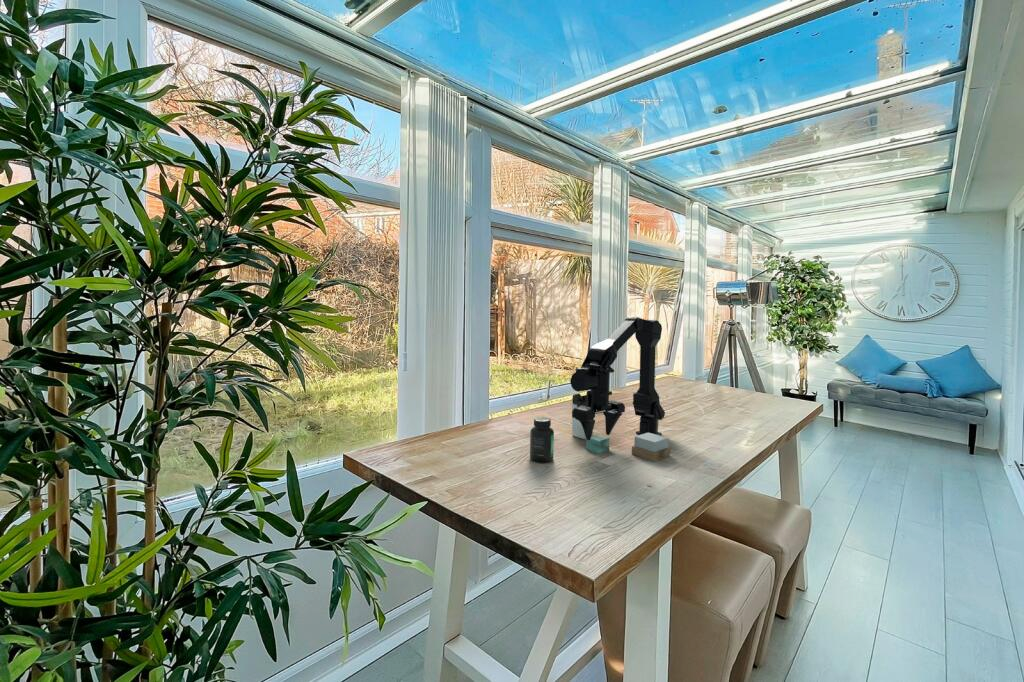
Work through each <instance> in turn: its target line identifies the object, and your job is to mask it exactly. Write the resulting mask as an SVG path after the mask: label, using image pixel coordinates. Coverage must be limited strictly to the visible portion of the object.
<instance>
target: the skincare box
mask: <svg viewBox="0 0 1024 682" xmlns="http://www.w3.org/2000/svg"><path fill="white" fill-rule="evenodd" d="M580 407H585V406H580ZM574 408H577V405H574V404H573V401H571V411H572V410H573V409H574ZM586 408H590V407H586ZM571 431H572V432H571V435H572V436H573V437H575V438H580V439H582V440H586V436H585V433H584V430H583V427H582V425H581V423H580V422H579V420H576V419H575V418H574V417H572V416H571ZM593 432H594V431H593ZM593 432H592V435H594V433H593Z"/></svg>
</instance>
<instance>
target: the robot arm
mask: <svg viewBox="0 0 1024 682" xmlns="http://www.w3.org/2000/svg"><path fill="white" fill-rule="evenodd" d="M662 332H663V326H662V323H660V321H659V320H654V319H644V318H642V317H639V316H628V317H626V318H625V319H624V321H623V322H622V323H621V324H620V325H619V326H618V327H617V328H616V330H614V331H613V332H612V333H611V334H610V336H608V337H607V338H606V339H605V340H603V341H600V342H598V343H596V344H594V345H593V346H591V347H590V348H589V350H588V353H587V355H586V356H585V358H584V360H583V362H582V364H581V366H580V367H577V368H575V372H574V373H572V375H571V377H570V385H571V388H572V389H573V390H574V391H575V392H578V393H575V394H572V399H571V400H572V401H573V404H574V405H577V408H574V409H573V410H572V409H571V418H572V417H574V418H575V419H576V420H579V422H580V423H581V425H582V427H583V430H584V433H585V436H586V439H587V440H590V439H591V436H592V432H594V427H595V423H596V419H595V417H596V415H598V414H602V413H603V416H604V418H605V422H604V423H605V424H604V425H605V434H606V435H607V436H610V435H611V433H612V431H613V429H614V427H615V426H616V424H617V422H618V421H619V419H620V417H621V416H623V413H625V412H626V406H625V404H624V402H621V401H616V400H613V399H611V400H610V396H612V395H613V391H610V384H611V383H610V380H611V379H610V377H611V376H610V375H611V374H612V373H614V372H615V369H613V367H612V365H613V363H614V362H615V361H616V359H617V358H618V352H619V350H620V349H621V348H622V347H623V346H624V345H625V344H626V343H627V342H628V341H629V340H630V339H631V338H632V337H633V335H634V336H635V340H636V341H637V343H638V345H639V387H638V389H637V390H636V392H634V393H633V394H632V399H633V401H632V405H633V410H634V413H635V414H634V415H635V416H639V417H640V418H639V427H638V428H639V430H638V431H635V434H638V435H641V434H645V433H652V434H656V435H660V436H663V435H662V432H659V420H660V421H662V420H663V419H664V418H665V415H666V411H665V409H664V408H663V407H662V406H661V403H660V402H661V401H660V395H659V393H658V392H657V390H656V388H655V386H656V385H655V384H656V383H655V380H656V349H657V348H656V346H657V345H658V343H659V342H660V340H661V336H662ZM584 391H586V394H584V395H581V393H579V392H584ZM572 401H571V402H572ZM580 406H585V407H580ZM586 407H590V408H586ZM586 439H585V440H586Z"/></svg>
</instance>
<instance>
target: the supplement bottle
mask: <svg viewBox="0 0 1024 682" xmlns="http://www.w3.org/2000/svg"><path fill="white" fill-rule="evenodd" d="M551 421H552V420H551V418H550V417H547V416H546V417H544V416H538V417H534V419H533V427H531V429H530V432H529V459H530V461H531V462H534V463H535V464H549V463H551V462H552V461H554V454H555V453H554V451H555V450H554V448H555V442H554V441H555V432H554V431H555V430H554V428H552V427H551V426H552V425H551V423H552V422H551Z"/></svg>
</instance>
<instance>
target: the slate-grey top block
mask: <svg viewBox="0 0 1024 682" xmlns="http://www.w3.org/2000/svg"><path fill="white" fill-rule="evenodd" d="M633 440H634V443H633V446H635V447H638V448H642V449H645V450H648V451H652V452H657V451H660V450H663V449H665V448H668V447H669V437H667V436H663V435H656V434H652V433H645V434H641V435H640V434H638V435H635V436H634V439H633Z"/></svg>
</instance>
